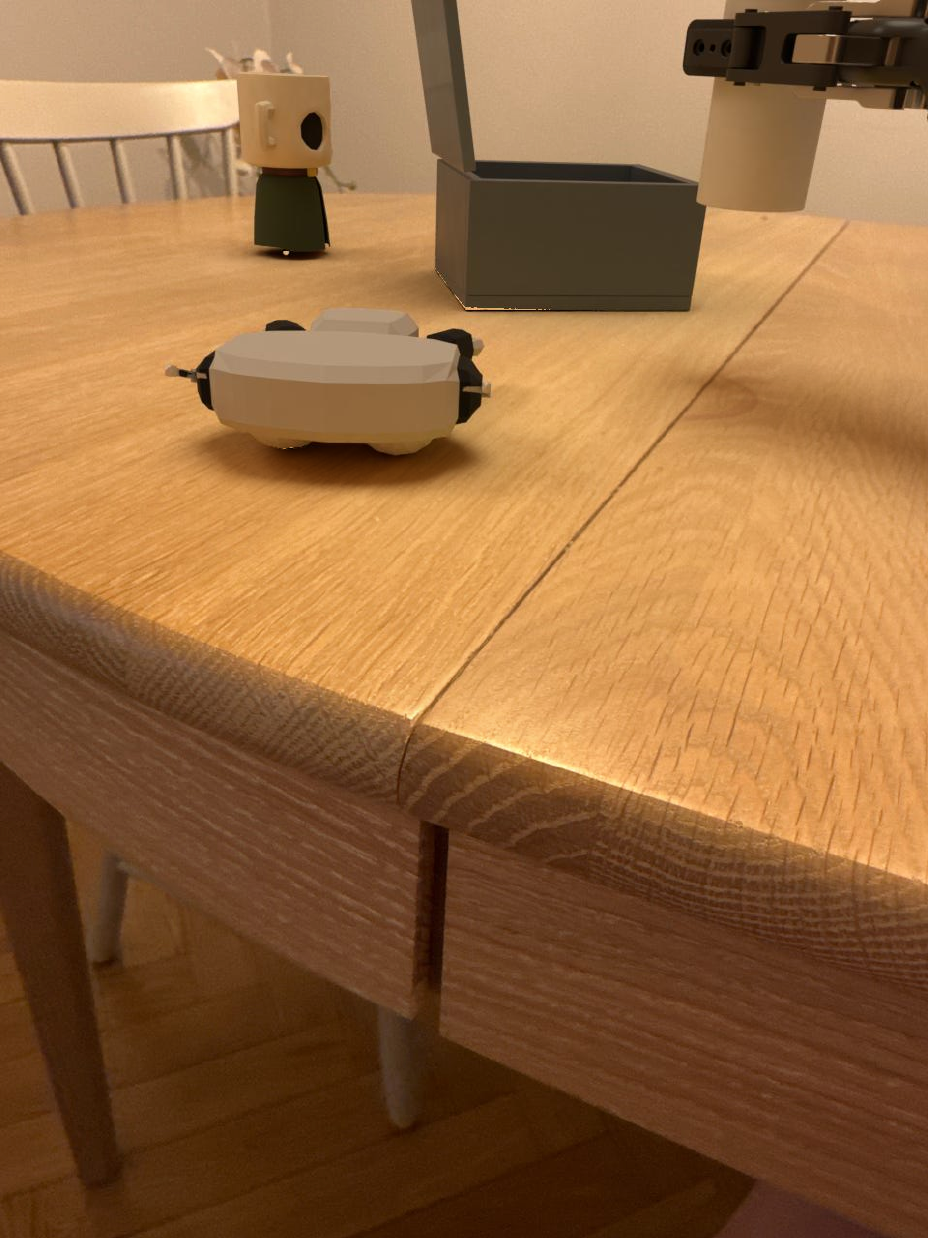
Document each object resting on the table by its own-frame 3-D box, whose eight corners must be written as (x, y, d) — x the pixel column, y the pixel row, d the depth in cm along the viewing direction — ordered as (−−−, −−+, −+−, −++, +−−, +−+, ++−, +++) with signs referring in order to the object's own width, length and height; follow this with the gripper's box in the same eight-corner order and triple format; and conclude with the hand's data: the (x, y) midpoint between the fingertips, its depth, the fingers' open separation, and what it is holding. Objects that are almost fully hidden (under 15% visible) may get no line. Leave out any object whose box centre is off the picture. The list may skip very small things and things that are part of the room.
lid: (404, -132, 61) (392, -131, 61) (436, -177, 50) (421, -175, 49) (442, 150, 70) (431, 152, 70) (476, 170, 58) (464, 172, 58)
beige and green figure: (311, 267, 73) (302, 75, 67) (225, 260, 75) (209, 71, 68) (352, 245, 83) (349, 75, 76) (276, 239, 84) (266, 71, 77)
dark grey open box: (626, 271, 77) (639, 163, 73) (690, 310, 65) (710, 185, 61) (434, 270, 75) (436, 158, 70) (465, 310, 63) (469, 179, 59)
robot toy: (258, 385, 49) (166, 472, 36) (253, 295, 47) (154, 351, 34) (490, 397, 49) (485, 488, 36) (495, 307, 47) (491, 368, 34)
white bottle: (774, 198, 49) (831, -102, 43) (824, 213, 45) (895, -119, 38) (680, 197, 48) (723, -109, 42) (721, 211, 44) (776, -128, 37)
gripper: (1230, -53, 35) (838, -34, 47) (1048, -97, 28) (634, -62, 39) (1148, 168, 39) (805, 135, 50) (969, 183, 31) (613, 140, 43)
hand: (732, 49), depth 45 cm, fingers closed on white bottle, 5 cm apart
